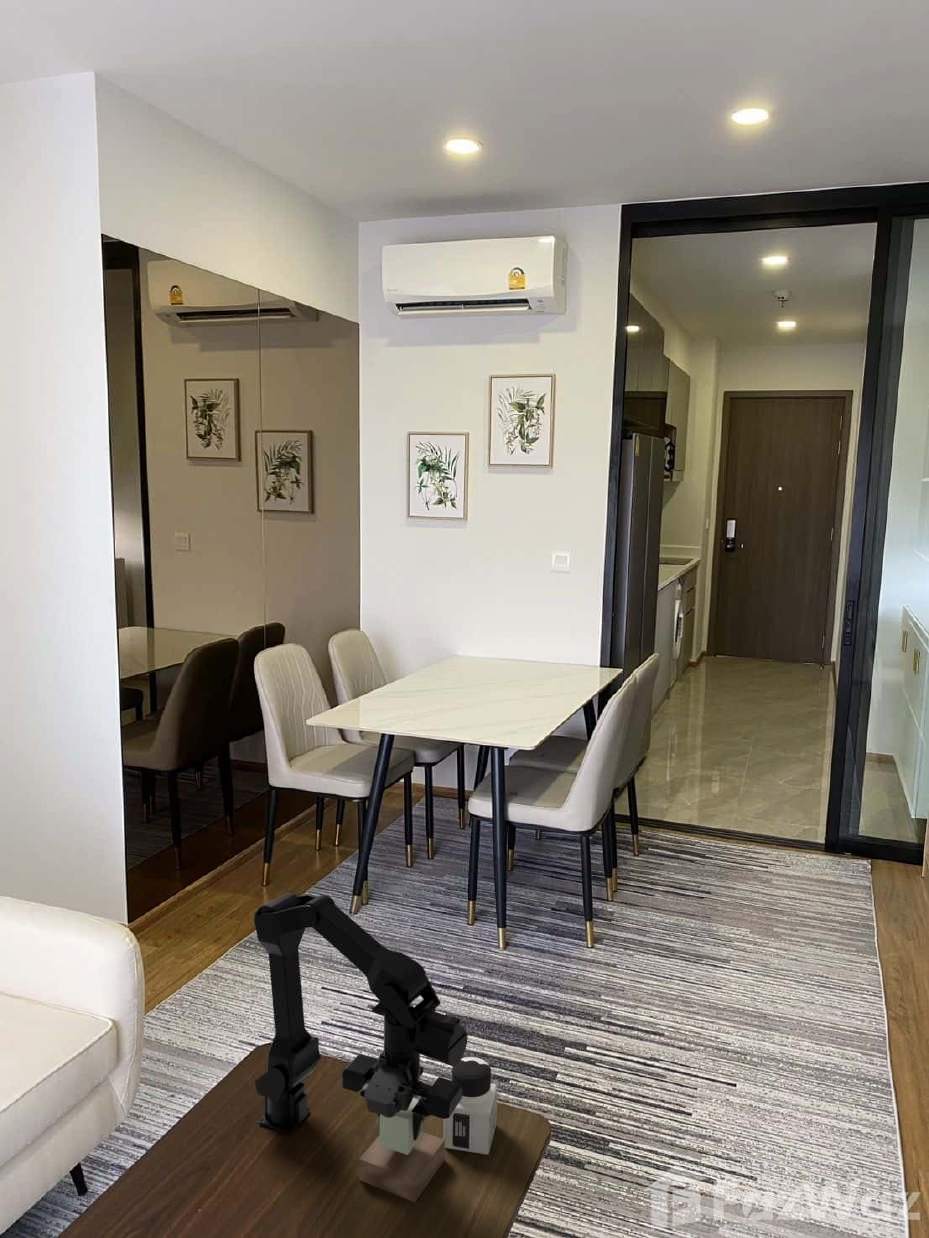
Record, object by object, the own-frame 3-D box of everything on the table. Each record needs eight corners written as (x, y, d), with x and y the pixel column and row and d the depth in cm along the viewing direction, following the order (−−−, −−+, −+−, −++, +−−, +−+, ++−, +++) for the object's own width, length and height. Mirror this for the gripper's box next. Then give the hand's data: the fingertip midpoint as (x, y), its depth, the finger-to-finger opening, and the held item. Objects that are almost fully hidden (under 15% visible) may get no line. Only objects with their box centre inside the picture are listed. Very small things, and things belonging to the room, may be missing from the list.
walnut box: (359, 1181, 146) (359, 1158, 145) (391, 1142, 155) (391, 1120, 154) (414, 1203, 141) (415, 1180, 141) (444, 1162, 150) (444, 1139, 150)
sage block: (379, 1145, 145) (379, 1110, 145) (394, 1125, 150) (394, 1091, 149) (407, 1154, 144) (408, 1119, 143) (421, 1134, 148) (422, 1100, 147)
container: (488, 1155, 151) (490, 1082, 150) (442, 1148, 153) (443, 1076, 151) (496, 1124, 159) (498, 1054, 157) (452, 1117, 160) (453, 1048, 159)
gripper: (323, 1056, 141) (323, 1149, 143) (434, 1088, 134) (432, 1186, 136) (359, 1018, 151) (359, 1106, 153) (464, 1047, 144) (462, 1138, 146)
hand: (400, 1133), depth 147 cm, fingers closed on sage block, 5 cm apart
